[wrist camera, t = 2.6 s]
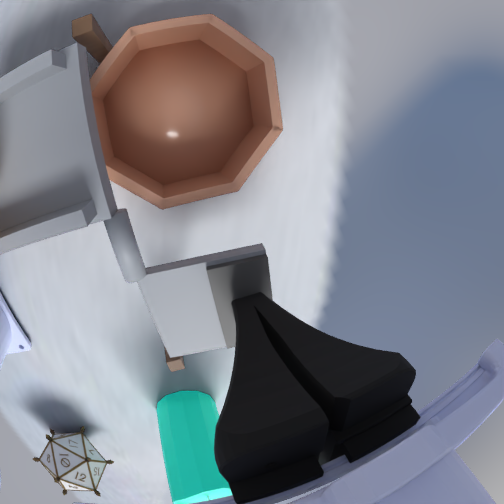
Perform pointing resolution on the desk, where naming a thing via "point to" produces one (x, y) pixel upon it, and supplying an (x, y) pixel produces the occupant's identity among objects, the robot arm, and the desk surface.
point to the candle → (190, 447)
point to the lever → (104, 204)
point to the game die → (73, 461)
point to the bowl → (185, 109)
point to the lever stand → (99, 47)
